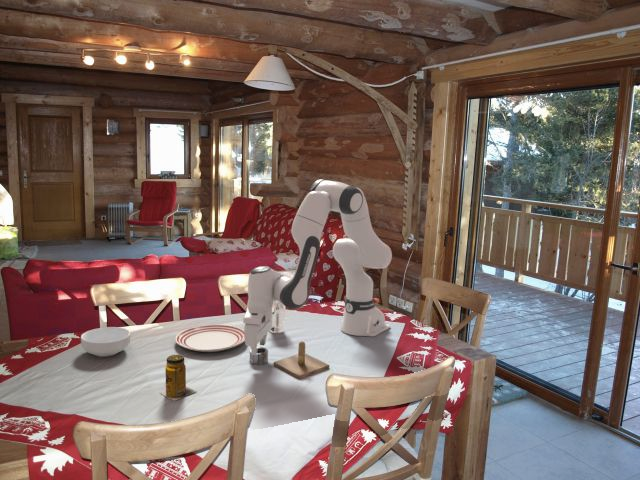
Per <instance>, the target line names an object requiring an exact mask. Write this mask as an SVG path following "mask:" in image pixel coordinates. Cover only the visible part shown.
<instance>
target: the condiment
mask: <svg viewBox="0 0 640 480" xmlns="http://www.w3.org/2000/svg"><path fill="white" fill-rule="evenodd" d="M186 368H187V367H186V364H185V357H184V355H181V354H171V355H169V356H167V358H166V365H165V369H164V370H165V371H164V372H165V390H164V391H163V392H160V394H161V395H163V396H164V397H165V398H168V399H169V400H172V401H173V402H175V401H177V400H180V399H183V398H185V397H187V396H189V395H192V394H194V393H196V392H197V390H194V389H192V388H190V387H189V386H187V380H186V378H187V377H186V371H187V370H186Z"/></svg>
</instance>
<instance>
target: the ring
mask: <svg viewBox="0 0 640 480" xmlns="http://www.w3.org/2000/svg"><path fill="white" fill-rule="evenodd" d="M257 349H258V351H257V354H256V355H252V354H251V349H250V350H249V363H250V364H252V365H254V366H255V365H256V366H262V365H263V366H264V365H265V364H267V363H268V362H269V350H268V348H266V347H261V346H260V347H259V346H257Z"/></svg>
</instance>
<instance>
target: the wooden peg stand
mask: <svg viewBox="0 0 640 480" xmlns="http://www.w3.org/2000/svg"><path fill="white" fill-rule="evenodd" d="M272 364H273V366H274V367H277V368H278V369H280V370H282V371H284V372H285V373H287V374H289V375H290V376H293V377H295V378H297V379H298V380H300V379H303V378H306V377H308V376H312V375H313V374H316V373H319V372H322V371H324V370H325V371H326V370H327V369H330V364H328V363H326V362H324V361H322V360H319V358H315V357H314V356H311V355H310V354H308V353H306V342H305V341H299V342H298V354H297V353H296V354H294V355H291V356H287V357H284V358H281V359H278V360H275V361H273V363H272Z"/></svg>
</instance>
